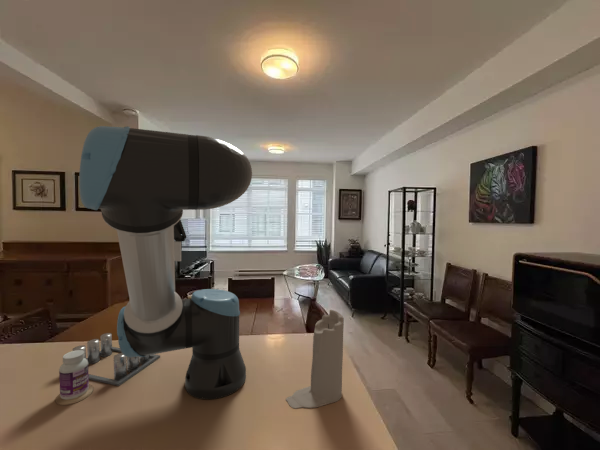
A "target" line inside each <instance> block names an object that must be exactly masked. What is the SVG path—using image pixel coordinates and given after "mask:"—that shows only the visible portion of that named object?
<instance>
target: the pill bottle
mask: <svg viewBox="0 0 600 450" xmlns="http://www.w3.org/2000/svg"><path fill="white" fill-rule="evenodd" d="M84 357H85V355H84V351H83V350H75V351H73V350H72V351H69V352H67V353H65V354H63V356H62V364H61V365H60V366H59V369H58V373H59V376H58V378H59V394H60V397H61V398H62V399H64V400H70V399H74V398H77V397H79V396H81V395H83V394H84V393H86V392H87V390H88V388H89V384H90V383H89V382H90V379H89V374H90V373H89V364H88V360H87V359H85V358H84Z"/></svg>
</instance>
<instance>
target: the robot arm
mask: <svg viewBox="0 0 600 450" xmlns="http://www.w3.org/2000/svg"><path fill="white" fill-rule="evenodd" d="M79 163H80V164H79V177H78V181H79V183H78V185H79V195H80V196H79V197H80V201H81V203H82V205H83V207H85V208H86V209H89V210H90V209H91V210H94V211H98V210H100V212H101V216H102V220H103V222H104V223H105V224H106V226H107V225H108V226H109V227H110V228H112V229H114V230H115V231H116V234H117V237H118V238H117V239H118V245H119V249H120V254H121V259H122V266H123V272H124V276H125V282H126V287H127V293H128V298H129V301H128V302H127V304H126V305H125V306H122V308H121V309H120V310H119V312H118V315H117V321H116V322H117V323H116V335H117V337H118V340H117V343H118V348H120V349H121V351H122V352H121V353H123V354H124V355H125V356H126V358H127V357H138V356H139V357H144V356H147V355H152V354H155V355H159V354H162V353H163V354H164V353H167V352H175V351H178V350H179V351H180V350H186V349H191V348H192V354H191V358H190V360H189V361H190V362H189V365H188V367H187V370H186V374H185V378H184V379H185V381H184V386H185V390H186V392H187V393H188V394H189V395H190V396H192V397H194V398H196V399H200V400H201V399H202V400H214V399H215V400H216V399H219V398H220V399H221V398H224V397H227V396H229V395H232V394H233V393H235V392H236V391H238V390H240V389H241V387H242V386H244V385H245V382H246V378H247V367H246V365H245V362H244V359H243V358H244V357H243V356H242V352H241V349H240V315H241V311H240V300H239V298H238V296H237V295H236V294H235V293H233V292H231V291H228V290H225V289H217V288H216V289H215V288H207V289H205V288H204V289H198V290H195V291H194V292H192V294H191V296H190V297H191V298H183V299H182V298H181V296H180V295H179V294H178V293H177V292H176V277H175V276H176V273H175V272H176V271H175V263H176V262H182V250H183V242H185V241H186V239H187V234H186V232H185V229H184V226H183V223H182V220H181V219H182V217H183V213H184V210H185V211H187V210H189V211H191V210H195V211H196V210H202V211H203V210H211V209H216V208H221V207H224V206H226V205H229V204H231V203H232V202H235V201H236V200H238V199H239V198H240V197H242V196H243V195H244V194H245V193H246V192H247V190H248V189H249V187H250V185H251V183H252V179H253V178H252V177H253V170H252V165H251V162H250V160H249V158H248V157H247V156H246V155H245V153H244V152H243V151H241V150H240V149H239V148H237V147H236V146H234V145H232V144H231V143H228V142H226V141H224V140H222V139H217V138H214V137H210V136H206V135H198V134H195V135H194V134H189V133H188V134H186V133H178V132H168V131H160V130H159V131H158V130H152V129H151V130H150V129H141V128H134V127H130V126H124V127H121V126H106V125H99V126H96V127H94V128H92V129H91V130H90V131H89V132H88V133H87V134H86V137H85V139H84V142H83V146H82V151H81V156H80V162H79Z"/></svg>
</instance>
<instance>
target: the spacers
mask: <svg viewBox="0 0 600 450" xmlns="http://www.w3.org/2000/svg"><path fill="white" fill-rule="evenodd" d="M112 335H113V334H112V333H111V332H105V333H103V334H101V335H100V339H99V338H93V339H90V340H87V343H86V345H78V346H75V347H73V348H72V351H75V350H83V351H84V355H85V357H84V358H85V359H86V358H88V365H93V364H96V363H99V362H100V360H101V357H103V358H105V357H110V356H111V355H113V351H112V347H113V340H112V339H113V337H112ZM86 346H87V347H86ZM86 348H87V351H86ZM100 351H101V355H100ZM150 359H151V358H150V355H147V356H144V357H139V356H138V357H127V356H125V355H124V354H123V353H122V352H119V353H117V354H115V355H114V356H113V375H114V376H113V379H114V380H118V381H119V380H121V379H122V378H124V377H125V376H127V375H128V373H131V372H133V371H134V370H136V369H137V368H139V367H140V365H143V364H145V363H146V362H148V361H149V360H150Z"/></svg>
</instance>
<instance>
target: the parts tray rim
mask: <svg viewBox="0 0 600 450" xmlns="http://www.w3.org/2000/svg"><path fill="white" fill-rule="evenodd" d="M112 352H117V353H118V352H119V353H122V351H121V349H120V347H116V346H112ZM100 356H101V350H100ZM159 358H161V355H160V354H152V355H150V360H149V361H148V362H146V363H145V364H141V365H139V368H137V369H136V370H134V371H133V372H129V374H128V373H127V376H125V377H124V378H122V379H121V380H119V381H118V380H114V378H109V377H105V376H100V375H94V374H90V373H88V374H89V381H90V380H91V381H95V382H100V383H104V384H109V385H112V386H118V387H120V386H121V385H122V384H124V383H125V382H127V381H128V380H130V379H131V378H133V377H134V376H136V375H137V374H138V373H140V372H141V371H143V370H145V368H147V367H148V366H150V365H151V364H152V363H154V362H156V361H157V360H159ZM86 359H87V360H88V357H86Z"/></svg>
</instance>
